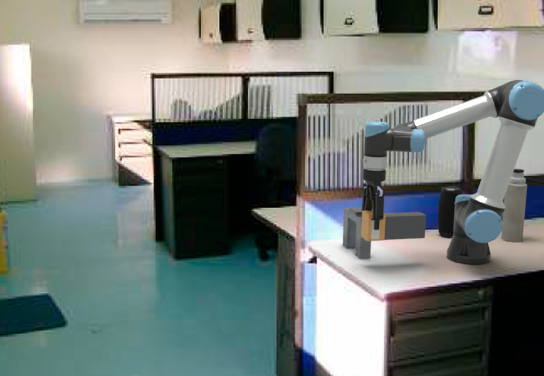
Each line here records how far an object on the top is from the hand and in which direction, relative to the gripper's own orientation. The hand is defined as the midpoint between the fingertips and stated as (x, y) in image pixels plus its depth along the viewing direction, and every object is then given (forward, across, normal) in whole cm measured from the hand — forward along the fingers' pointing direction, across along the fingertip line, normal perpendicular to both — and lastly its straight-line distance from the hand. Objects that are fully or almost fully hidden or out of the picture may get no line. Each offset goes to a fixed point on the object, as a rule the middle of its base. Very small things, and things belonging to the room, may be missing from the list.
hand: (371, 235), depth 237 cm
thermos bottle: (+10, -22, +68) cm, 72 cm away
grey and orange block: (+1, 0, +8) cm, 8 cm away
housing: (+11, -18, +2) cm, 21 cm away
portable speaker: (+11, -32, +46) cm, 57 cm away
